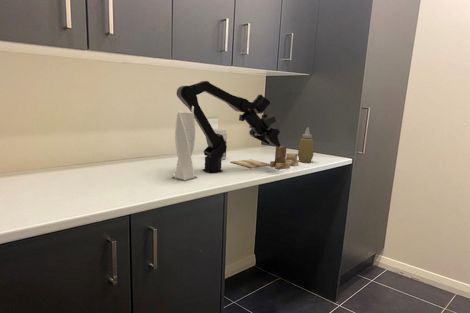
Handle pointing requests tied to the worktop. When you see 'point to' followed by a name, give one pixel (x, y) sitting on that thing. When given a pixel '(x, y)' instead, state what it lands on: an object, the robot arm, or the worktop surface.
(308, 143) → the squeeze bottle
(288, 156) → the pine offcut upper
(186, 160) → the skyscraper
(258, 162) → the striped wooden board
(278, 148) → the brown wooden block
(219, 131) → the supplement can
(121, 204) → the worktop surface
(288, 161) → the pine offcut lower
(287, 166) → the oak rack
